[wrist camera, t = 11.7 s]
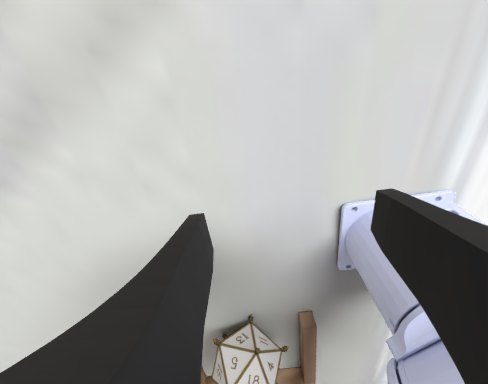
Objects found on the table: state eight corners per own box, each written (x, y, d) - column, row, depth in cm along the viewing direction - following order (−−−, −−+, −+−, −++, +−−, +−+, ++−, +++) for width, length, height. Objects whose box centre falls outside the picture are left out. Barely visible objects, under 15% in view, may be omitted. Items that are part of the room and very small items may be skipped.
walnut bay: (311, 311, 29) (316, 327, 27) (311, 371, 36) (315, 387, 34) (171, 326, 30) (167, 343, 28) (198, 382, 37) (196, 398, 35)
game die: (256, 295, 33) (317, 349, 25) (243, 350, 34) (298, 418, 26) (196, 311, 27) (252, 387, 20) (183, 377, 28) (232, 473, 21)
